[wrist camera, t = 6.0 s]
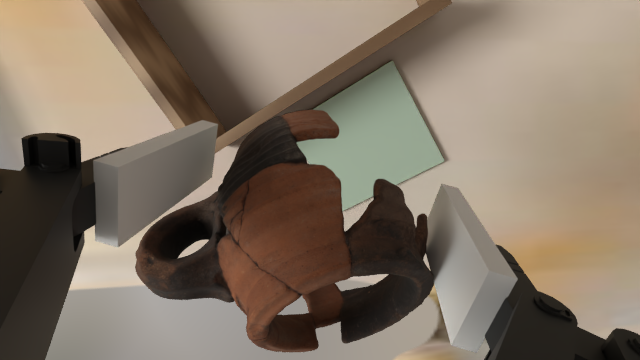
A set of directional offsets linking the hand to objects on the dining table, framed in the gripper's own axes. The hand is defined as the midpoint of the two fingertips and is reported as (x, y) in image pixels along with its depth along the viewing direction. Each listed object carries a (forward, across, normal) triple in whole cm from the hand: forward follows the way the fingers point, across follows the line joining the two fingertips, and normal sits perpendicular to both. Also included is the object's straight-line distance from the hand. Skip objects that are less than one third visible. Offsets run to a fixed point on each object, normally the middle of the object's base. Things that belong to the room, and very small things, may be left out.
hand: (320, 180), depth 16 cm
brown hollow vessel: (+2, -3, -1) cm, 4 cm away
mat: (+19, +2, -2) cm, 19 cm away
